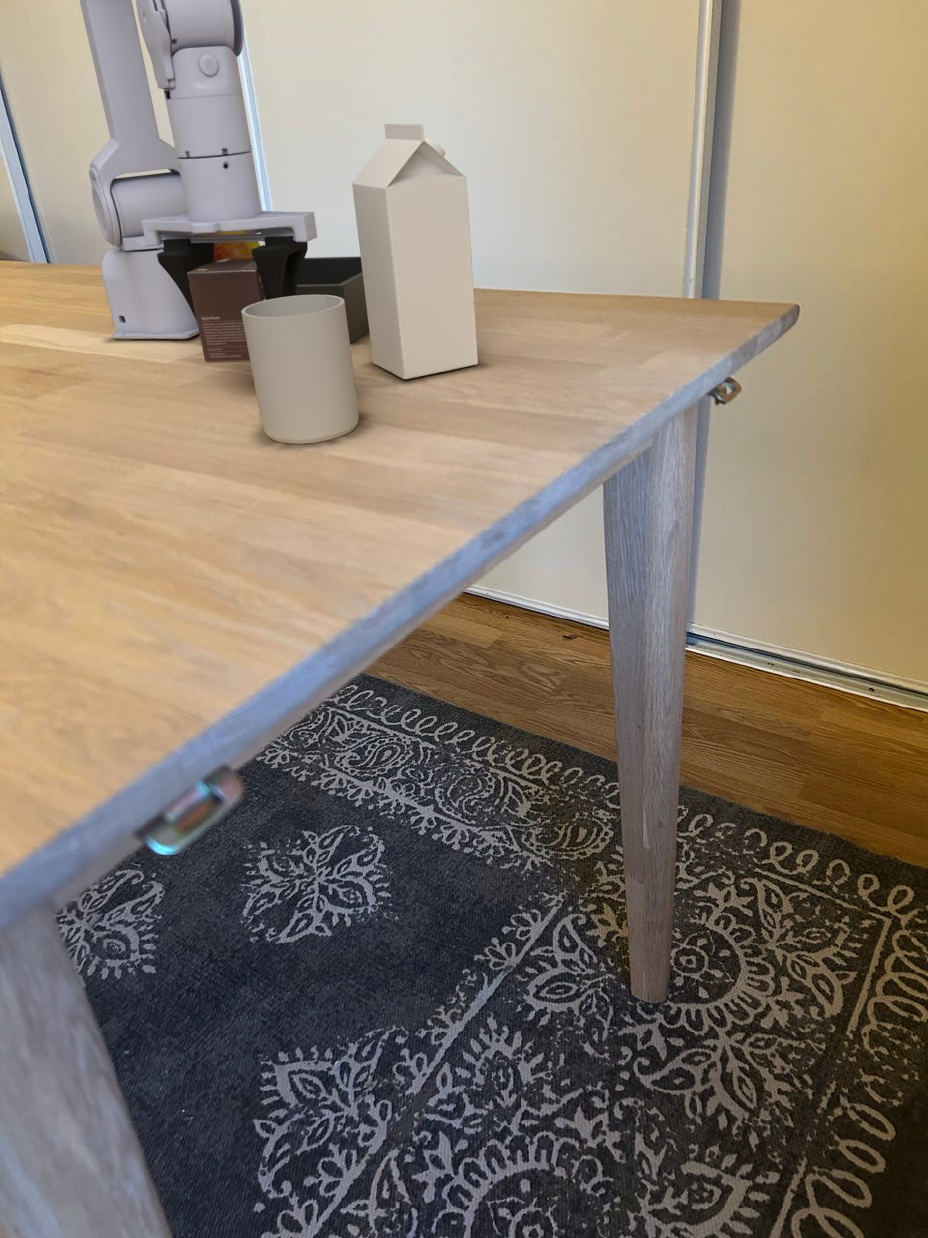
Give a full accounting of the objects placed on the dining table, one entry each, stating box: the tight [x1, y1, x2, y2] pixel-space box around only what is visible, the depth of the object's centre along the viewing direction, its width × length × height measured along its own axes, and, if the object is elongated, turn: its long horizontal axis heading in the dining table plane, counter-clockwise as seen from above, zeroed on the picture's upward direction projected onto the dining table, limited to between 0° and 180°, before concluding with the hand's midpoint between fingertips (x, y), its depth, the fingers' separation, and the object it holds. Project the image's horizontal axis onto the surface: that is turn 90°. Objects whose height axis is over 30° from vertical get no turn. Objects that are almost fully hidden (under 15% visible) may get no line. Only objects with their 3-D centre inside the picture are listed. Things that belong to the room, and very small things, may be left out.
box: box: [187, 258, 267, 364], centre depth 79 cm, size 6×6×7 cm
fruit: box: [204, 231, 261, 262], centre depth 116 cm, size 10×9×8 cm
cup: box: [241, 295, 360, 445], centre depth 70 cm, size 7×10×9 cm
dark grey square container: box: [295, 255, 370, 345], centre depth 100 cm, size 16×16×6 cm
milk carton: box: [351, 123, 479, 380], centre depth 79 cm, size 7×7×19 cm
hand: (247, 333), depth 80 cm, fingers closed on box, 6 cm apart
